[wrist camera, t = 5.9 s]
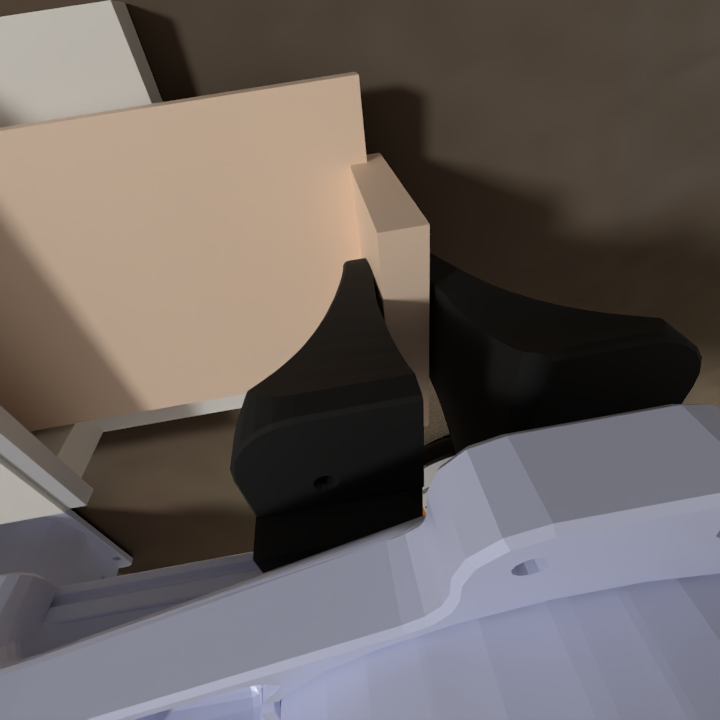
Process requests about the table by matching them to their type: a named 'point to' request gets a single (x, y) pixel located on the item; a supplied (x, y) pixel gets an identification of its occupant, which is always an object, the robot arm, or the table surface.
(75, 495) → the ticket dispenser
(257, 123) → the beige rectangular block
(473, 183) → the table surface
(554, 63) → the table surface
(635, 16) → the table surface
